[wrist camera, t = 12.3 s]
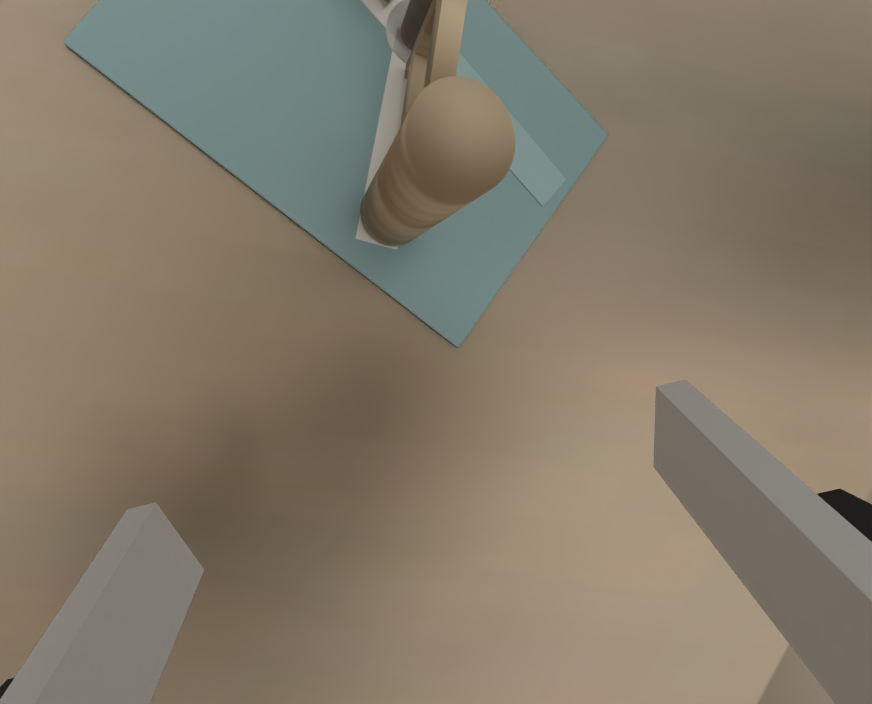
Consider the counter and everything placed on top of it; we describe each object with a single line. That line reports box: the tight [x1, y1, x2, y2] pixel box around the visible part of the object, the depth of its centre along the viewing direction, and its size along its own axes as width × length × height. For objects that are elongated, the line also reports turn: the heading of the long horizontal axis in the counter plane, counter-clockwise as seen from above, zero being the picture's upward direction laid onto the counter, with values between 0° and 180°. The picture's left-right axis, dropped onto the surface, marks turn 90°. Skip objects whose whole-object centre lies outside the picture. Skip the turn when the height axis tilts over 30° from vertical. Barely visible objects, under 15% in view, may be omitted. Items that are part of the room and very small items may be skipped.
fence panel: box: [360, 0, 515, 246], centre depth 19 cm, size 10×4×11 cm, turn 171°
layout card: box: [63, 0, 608, 348], centre depth 25 cm, size 24×17×1 cm
